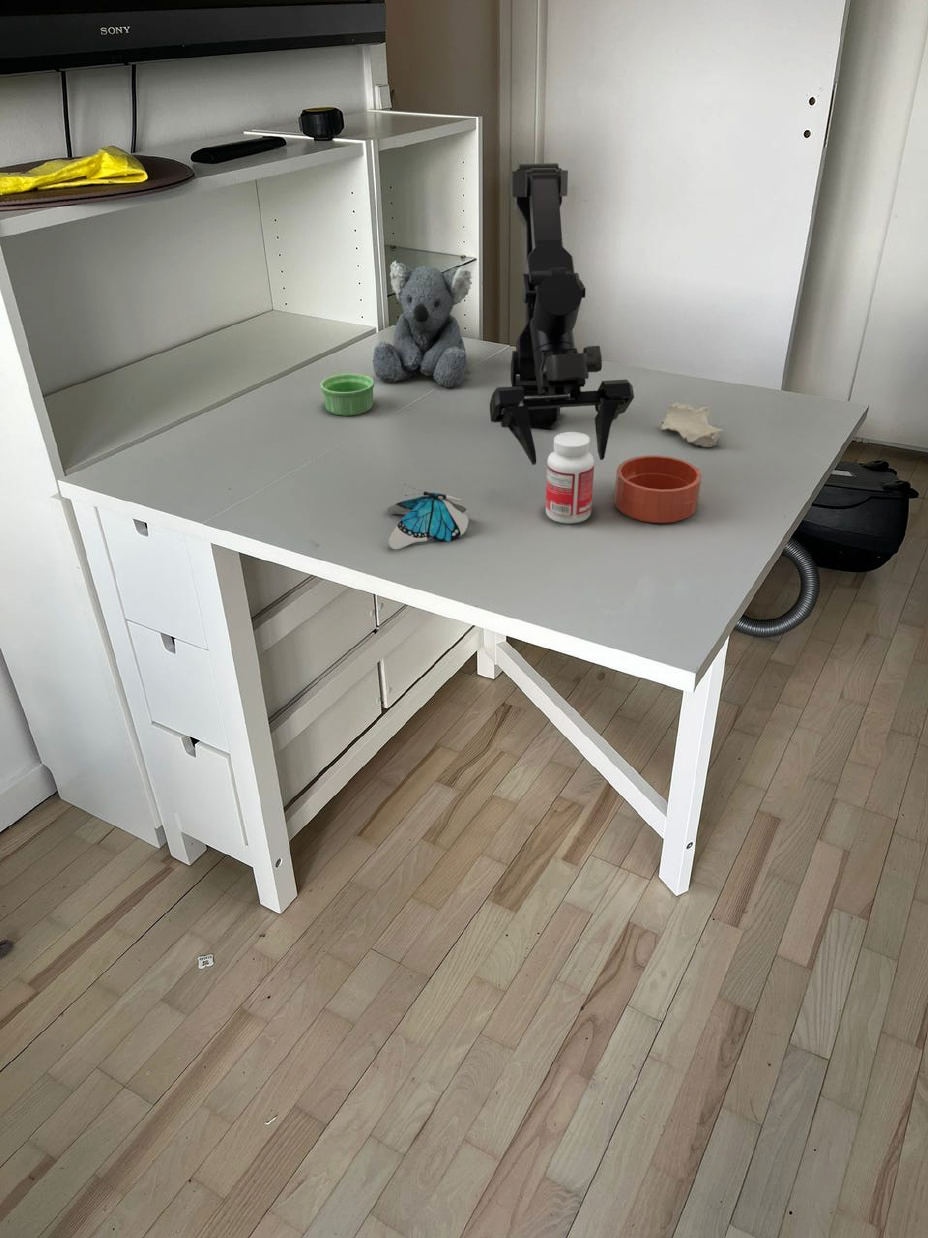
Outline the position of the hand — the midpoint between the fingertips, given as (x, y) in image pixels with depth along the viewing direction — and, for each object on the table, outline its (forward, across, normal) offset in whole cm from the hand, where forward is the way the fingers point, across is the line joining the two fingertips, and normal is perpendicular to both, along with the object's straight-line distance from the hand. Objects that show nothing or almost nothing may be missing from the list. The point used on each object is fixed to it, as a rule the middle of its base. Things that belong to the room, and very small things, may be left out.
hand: (568, 461), depth 127 cm
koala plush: (-36, -13, +47) cm, 61 cm away
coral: (-10, +25, +20) cm, 34 cm away
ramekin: (-25, -28, +36) cm, 52 cm away
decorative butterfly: (+7, -19, +4) cm, 21 cm away
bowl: (+6, +12, +5) cm, 15 cm away
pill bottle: (+6, 0, +4) cm, 8 cm away
